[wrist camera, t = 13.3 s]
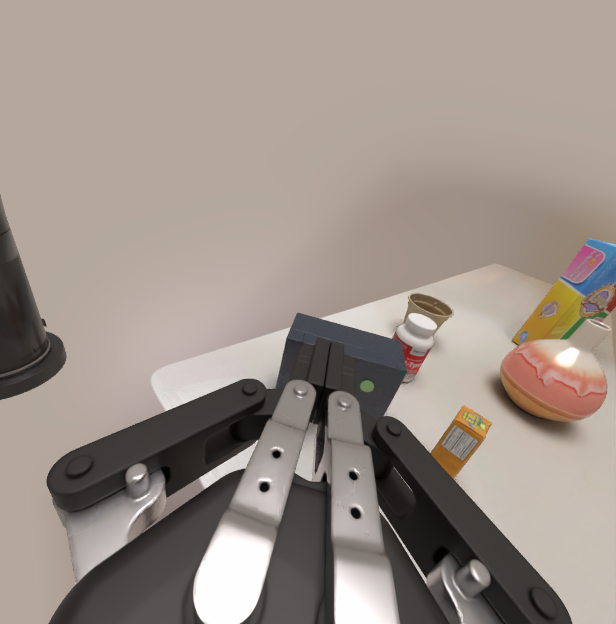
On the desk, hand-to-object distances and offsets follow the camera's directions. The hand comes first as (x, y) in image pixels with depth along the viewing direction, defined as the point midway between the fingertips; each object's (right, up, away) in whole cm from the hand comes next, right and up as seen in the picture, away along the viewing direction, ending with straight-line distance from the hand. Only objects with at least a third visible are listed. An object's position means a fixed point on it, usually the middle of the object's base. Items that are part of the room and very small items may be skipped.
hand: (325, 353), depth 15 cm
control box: (+1, -11, +25) cm, 27 cm away
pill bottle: (+15, -9, +35) cm, 39 cm away
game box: (+61, -7, +58) cm, 85 cm away
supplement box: (+15, -18, +19) cm, 30 cm away
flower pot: (+23, -3, +47) cm, 52 cm away
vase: (+39, -14, +35) cm, 54 cm away
